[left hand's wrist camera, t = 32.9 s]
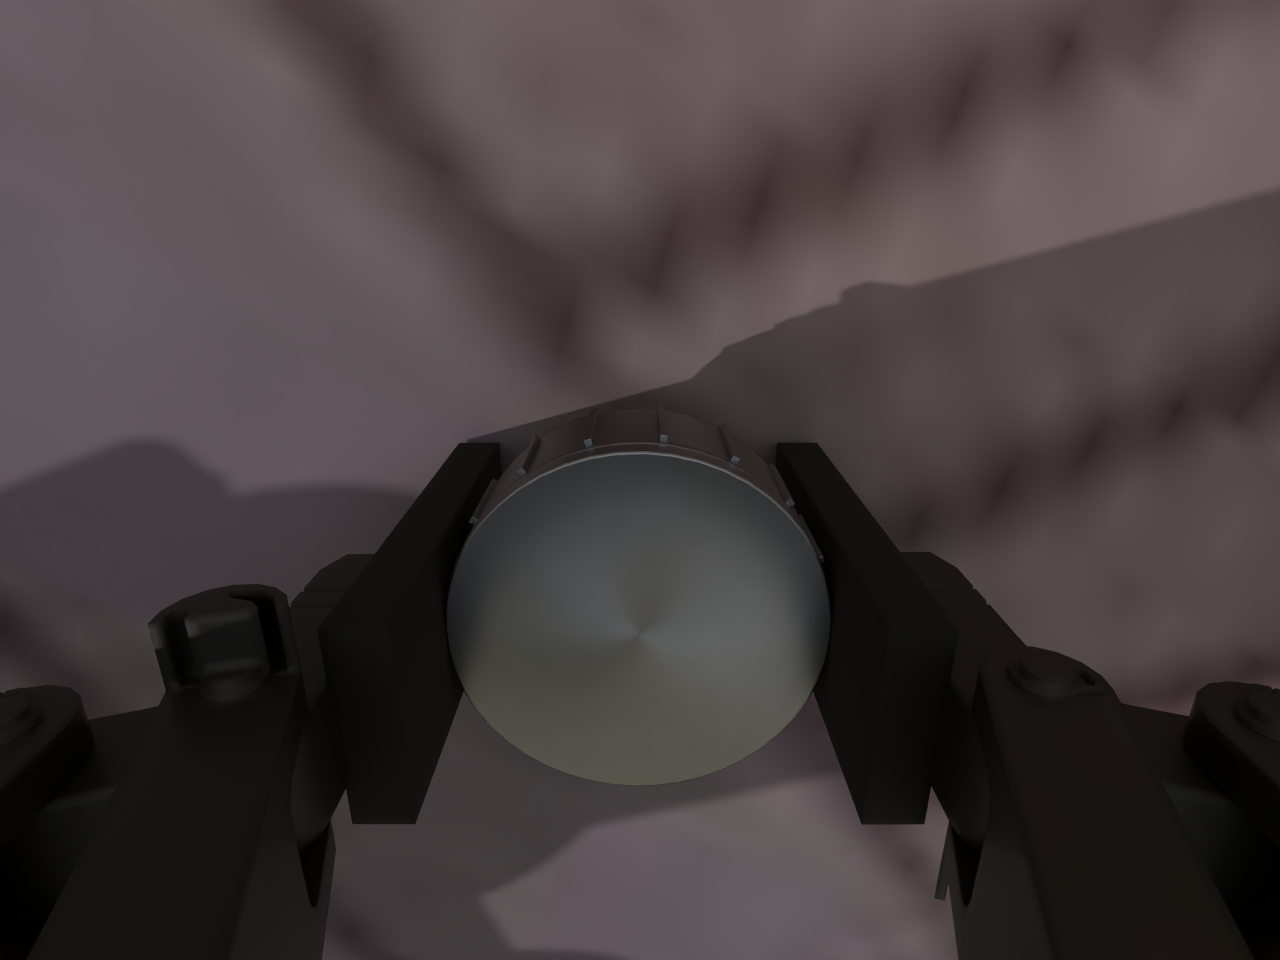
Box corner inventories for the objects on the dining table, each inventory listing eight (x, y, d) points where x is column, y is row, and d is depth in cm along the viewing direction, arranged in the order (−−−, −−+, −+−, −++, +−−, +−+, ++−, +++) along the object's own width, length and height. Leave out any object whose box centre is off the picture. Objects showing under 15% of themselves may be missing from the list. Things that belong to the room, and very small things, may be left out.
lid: (825, 407, 11) (865, 452, 9) (788, 705, 13) (814, 795, 11) (464, 397, 11) (426, 439, 9) (481, 697, 13) (453, 786, 11)
